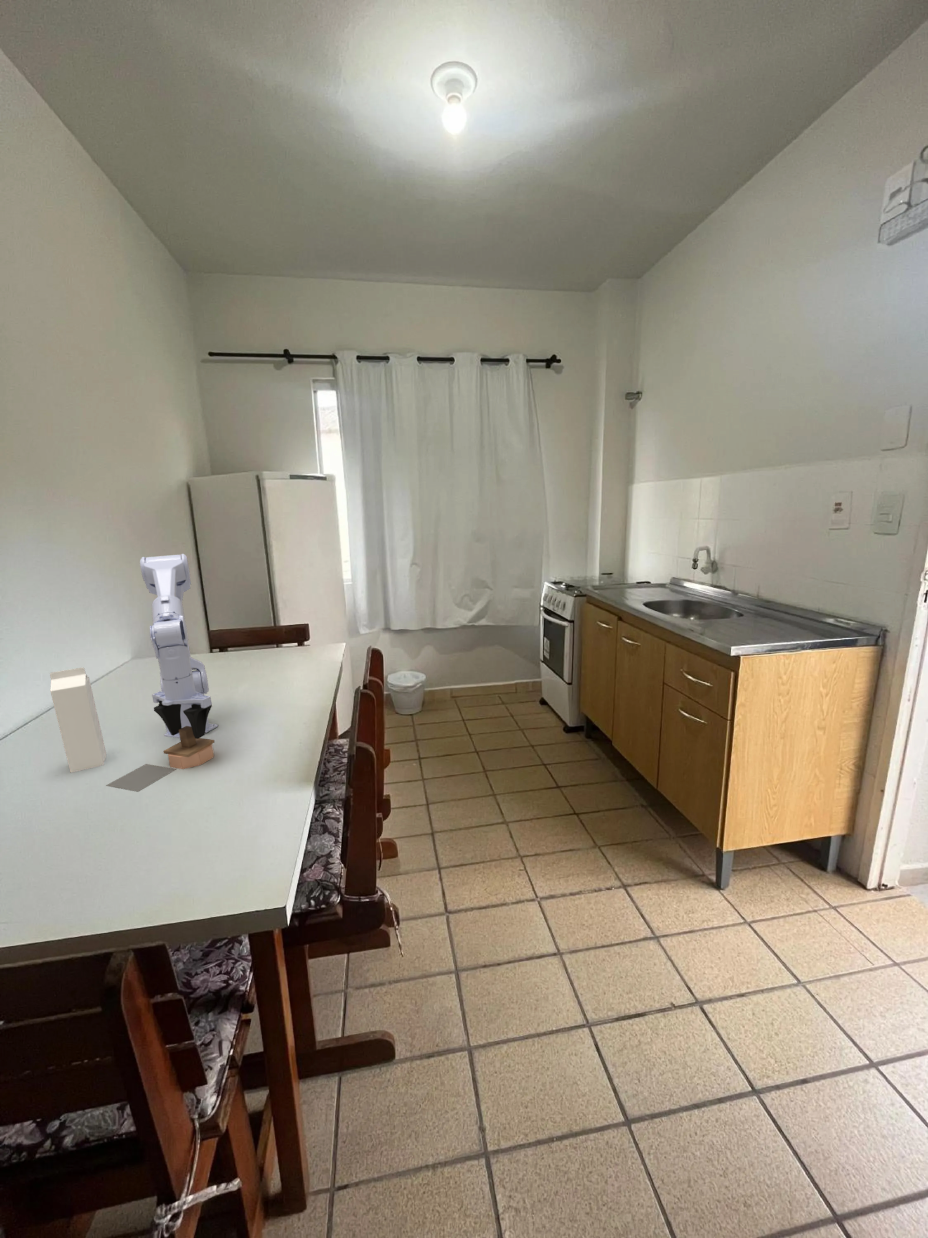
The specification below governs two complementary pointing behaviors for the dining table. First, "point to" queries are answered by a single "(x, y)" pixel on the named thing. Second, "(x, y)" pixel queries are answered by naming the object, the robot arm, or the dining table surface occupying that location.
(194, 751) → the lid
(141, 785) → the mat
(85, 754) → the milk
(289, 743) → the dining table surface
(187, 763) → the octagonal copper pot
